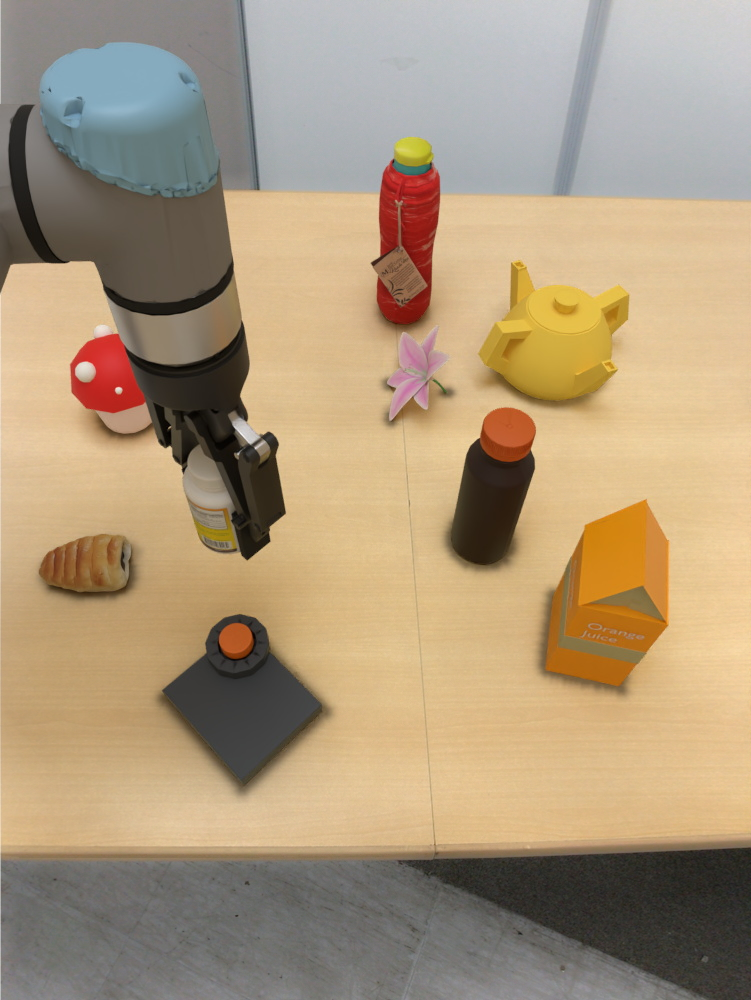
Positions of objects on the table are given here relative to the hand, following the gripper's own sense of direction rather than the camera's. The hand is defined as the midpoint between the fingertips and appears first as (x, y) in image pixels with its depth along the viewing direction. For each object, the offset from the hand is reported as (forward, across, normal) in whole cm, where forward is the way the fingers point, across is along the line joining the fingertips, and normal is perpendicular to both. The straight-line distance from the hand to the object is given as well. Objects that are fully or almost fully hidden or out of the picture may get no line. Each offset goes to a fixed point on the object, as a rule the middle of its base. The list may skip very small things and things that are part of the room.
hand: (232, 526), depth 65 cm
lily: (+17, +8, -35) cm, 39 cm away
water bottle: (+17, +19, -44) cm, 51 cm away
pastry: (+17, +16, +9) cm, 25 cm away
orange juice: (+17, -28, -22) cm, 39 cm away
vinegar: (+17, -12, -24) cm, 31 cm away
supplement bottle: (+1, 0, 0) cm, 1 cm away
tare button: (+13, -3, +4) cm, 14 cm away
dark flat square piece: (+17, -7, +7) cm, 19 cm away
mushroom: (+17, +32, -7) cm, 37 cm away
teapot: (+17, -1, -52) cm, 54 cm away
